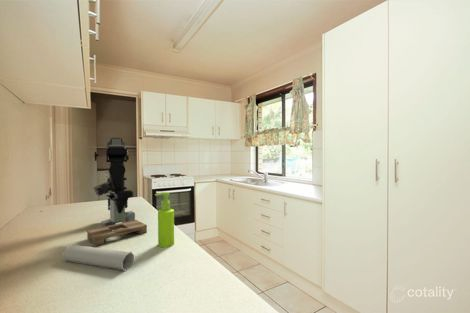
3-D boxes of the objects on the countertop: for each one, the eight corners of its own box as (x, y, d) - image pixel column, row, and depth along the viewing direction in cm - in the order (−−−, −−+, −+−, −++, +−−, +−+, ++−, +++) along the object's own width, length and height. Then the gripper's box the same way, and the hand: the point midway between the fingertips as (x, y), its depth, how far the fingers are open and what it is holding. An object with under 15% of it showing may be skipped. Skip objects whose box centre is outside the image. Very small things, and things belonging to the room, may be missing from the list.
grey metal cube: (101, 229, 105) (101, 221, 105) (112, 227, 109) (111, 219, 109) (104, 232, 102) (104, 223, 102) (115, 229, 106) (115, 220, 105)
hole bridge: (87, 239, 94) (87, 230, 94) (136, 227, 108) (136, 219, 108) (95, 246, 86) (95, 237, 86) (146, 232, 101) (146, 224, 101)
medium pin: (122, 225, 112) (122, 212, 112) (131, 222, 115) (131, 211, 115) (125, 227, 109) (125, 214, 109) (135, 224, 112) (134, 212, 112)
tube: (56, 251, 73) (119, 261, 66) (71, 240, 78) (132, 248, 71) (62, 264, 75) (124, 275, 68) (76, 253, 80) (136, 261, 73)
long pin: (110, 220, 97) (109, 199, 97) (121, 218, 100) (120, 197, 100) (113, 222, 94) (113, 200, 94) (125, 220, 97) (124, 199, 97)
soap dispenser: (154, 243, 89) (154, 192, 89) (173, 240, 92) (172, 190, 91) (156, 249, 84) (155, 194, 83) (175, 245, 86) (174, 193, 86)
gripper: (89, 175, 97) (89, 211, 98) (103, 178, 84) (103, 220, 85) (116, 173, 105) (117, 207, 106) (133, 176, 92) (134, 214, 93)
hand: (117, 212), depth 97 cm, fingers closed on long pin, 4 cm apart
